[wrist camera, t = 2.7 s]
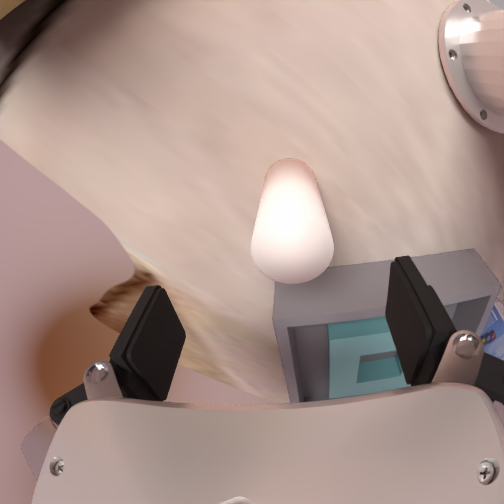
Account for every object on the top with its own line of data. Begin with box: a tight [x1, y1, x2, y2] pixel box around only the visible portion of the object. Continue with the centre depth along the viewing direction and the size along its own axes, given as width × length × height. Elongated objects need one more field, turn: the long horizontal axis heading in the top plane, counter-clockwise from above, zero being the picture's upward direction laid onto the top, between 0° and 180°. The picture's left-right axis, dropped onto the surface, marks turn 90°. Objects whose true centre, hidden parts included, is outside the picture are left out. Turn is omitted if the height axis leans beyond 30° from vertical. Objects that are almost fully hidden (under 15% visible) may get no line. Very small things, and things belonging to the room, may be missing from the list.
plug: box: [251, 158, 334, 284], centre depth 18 cm, size 4×4×10 cm
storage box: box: [273, 249, 501, 403], centre depth 28 cm, size 21×23×6 cm
